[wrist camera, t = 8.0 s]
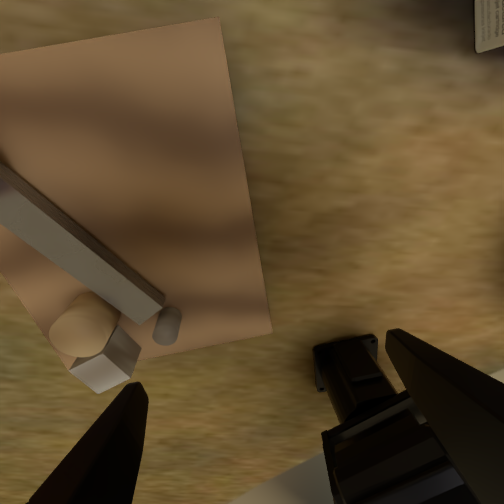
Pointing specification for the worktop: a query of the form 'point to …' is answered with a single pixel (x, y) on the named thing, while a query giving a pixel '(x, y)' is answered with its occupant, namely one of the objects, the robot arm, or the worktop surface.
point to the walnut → (84, 326)
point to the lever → (74, 249)
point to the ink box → (489, 24)
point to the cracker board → (137, 186)
